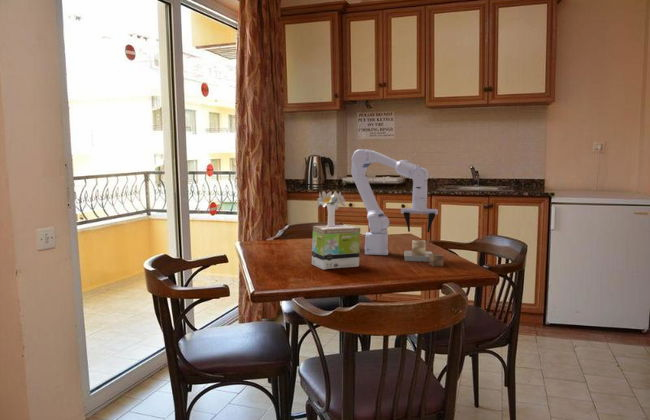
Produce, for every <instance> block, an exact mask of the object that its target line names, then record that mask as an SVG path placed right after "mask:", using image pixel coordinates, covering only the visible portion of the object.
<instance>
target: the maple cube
mask: <svg viewBox="0 0 650 420" xmlns="http://www.w3.org/2000/svg"><path fill="white" fill-rule="evenodd" d="M411 241H412V242H411V243H412V244H411V246H412V247H411V251H412V255H425V251H427V249H426V247H427V246H426V245H427V244H426V243H427V242H426V240H424V239H423V240H421V239H420V240H419V239H415V240H414V239H413V240H411Z"/></svg>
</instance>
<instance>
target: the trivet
mask: <svg viewBox="0 0 650 420" xmlns="http://www.w3.org/2000/svg"><path fill="white" fill-rule="evenodd" d="M429 254H433V252H432V251H427V250H426V251H425V255H412V250H404V251H403V257H404V258H403V259H404V262H422V261H423V262H424V263H426V262H428V263H429Z"/></svg>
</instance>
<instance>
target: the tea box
mask: <svg viewBox="0 0 650 420" xmlns="http://www.w3.org/2000/svg"><path fill="white" fill-rule="evenodd" d="M311 242H312V243H311V245H312V246H311V248H312V249H311V265H313V266H314V267H317V268H319V269H321V270H328V269H329V270H331V269H341V268H342V269H343V268H344V269H345V268H356V267H359V266H360V254H361V253H360V250H361V248H360V247H361V227H358V226H354V225H350V224H335V225H328V224H327V225H313V226H312V241H311Z"/></svg>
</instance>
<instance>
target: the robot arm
mask: <svg viewBox="0 0 650 420" xmlns="http://www.w3.org/2000/svg"><path fill="white" fill-rule="evenodd" d="M350 160H351V169H350V170H351V177H352V179H353V181H354V183H355V186H356V189H357V190H358V193H359V196H360V198H361V200H362V203H363V204H364V207H365V209H366V212H367V215H366V219H367V220H368V221H367V222H368V228H369V230H370V231H366V232H365V238H364V241H365V242H364V255H372V256H373V255H374V256H376V255H377V256H388V255H389V250H388V241H389V240H388V237H389V235H388V233H389V231H388V229H389V227H390V219H389V218H388V216H387V215H386V214H385V212H384V211H383V210H382V209H381V208H380V205H379V204H378V202H377V199H376V197H375V194H374V192H373V190H372V187H371V185H370V182H369V181H368V178H367V176H366V172H367V170H368V168H369V166H371V164H372V163H379V164H381V165H384V166H387V167H390V168H393V169H394V170H395V172H396V173H397V174H398V175H401V176H404V177H405V178H408V179H412V199H411V200H412V201H411V204H412V205H411V207H408V208H406V207H403V208H402V207H401V208H400V214H403V217H404V220H405V222H406V226H407V232H409V233H411V227H410V226H411V225H410V222H411V221H410V220H411V219H410V217H411V215H412V214H415V215H416V214H417V215H428V216H427V233H430V231H431V226H432V225H433V224H432V223H433V222H434V219H435V218H436V216H437V215H438V214H439V209H437V208H428V206H427V204H428V179H429V177H430V172H429V170H428V169H427V168H425V166H424V167H423V166H421V167H420V165H419V164H413V163H411V162H409V160H408V159H401V160H399V161H398V160H396V159H394V158H392V157H389V156H387V155H385V154H383V153H381V152H379V151H378V152H377V151H375V150H371V149H369V148H368V149H362V148H360V149H359V148H358V149H357V150H354V152H353V154H352V156H351V159H350Z"/></svg>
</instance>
